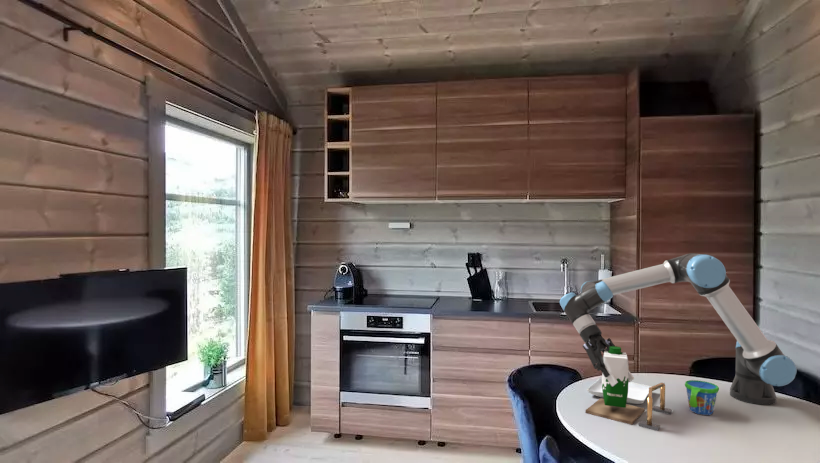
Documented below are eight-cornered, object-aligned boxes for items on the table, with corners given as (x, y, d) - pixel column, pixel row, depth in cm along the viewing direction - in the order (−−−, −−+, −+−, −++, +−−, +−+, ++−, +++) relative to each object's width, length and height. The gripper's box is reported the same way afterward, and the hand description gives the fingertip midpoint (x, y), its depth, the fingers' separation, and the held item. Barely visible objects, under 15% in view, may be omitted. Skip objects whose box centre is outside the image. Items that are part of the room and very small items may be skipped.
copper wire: (672, 412, 180) (672, 383, 180) (657, 430, 164) (658, 399, 164) (654, 408, 184) (655, 380, 184) (638, 425, 168) (639, 395, 167)
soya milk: (626, 400, 183) (627, 346, 182) (628, 409, 174) (629, 353, 173) (601, 397, 186) (602, 344, 185) (602, 406, 177) (602, 350, 176)
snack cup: (697, 403, 189) (697, 376, 189) (726, 412, 181) (727, 384, 180) (675, 411, 181) (675, 384, 181) (705, 421, 172) (706, 392, 172)
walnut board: (644, 411, 181) (644, 408, 181) (632, 424, 169) (632, 421, 169) (600, 400, 191) (600, 398, 191) (585, 412, 179) (585, 410, 179)
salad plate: (600, 383, 213) (600, 375, 213) (654, 394, 200) (654, 385, 200) (585, 397, 195) (585, 388, 195) (644, 410, 183) (644, 400, 183)
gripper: (600, 331, 198) (635, 382, 184) (562, 337, 187) (597, 392, 174) (611, 321, 193) (648, 372, 180) (574, 326, 182) (610, 381, 169)
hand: (623, 382), depth 177 cm, fingers closed on soya milk, 8 cm apart
